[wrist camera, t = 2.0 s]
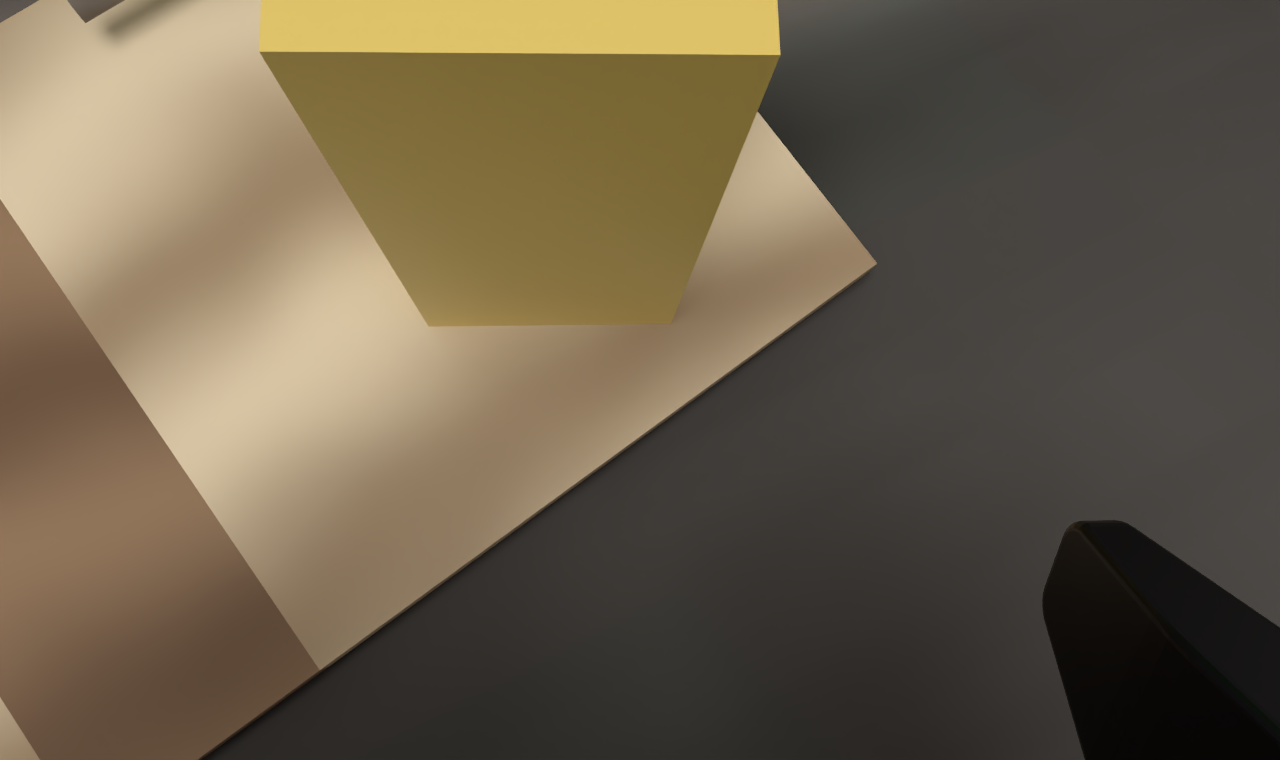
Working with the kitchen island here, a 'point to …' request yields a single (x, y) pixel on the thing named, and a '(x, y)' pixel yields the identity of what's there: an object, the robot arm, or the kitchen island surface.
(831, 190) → the kitchen island surface
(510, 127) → the tall mustard yellow pillar
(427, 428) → the panel
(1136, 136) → the kitchen island surface
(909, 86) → the kitchen island surface
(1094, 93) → the kitchen island surface
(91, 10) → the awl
